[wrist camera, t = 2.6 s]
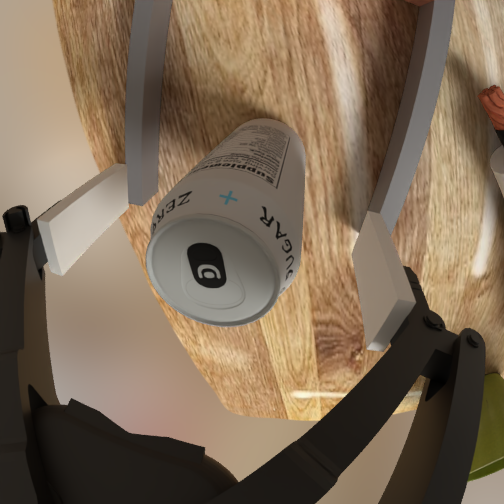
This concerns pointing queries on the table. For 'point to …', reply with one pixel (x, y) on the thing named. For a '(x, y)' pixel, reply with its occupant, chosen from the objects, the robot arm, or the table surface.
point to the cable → (496, 128)
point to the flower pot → (490, 430)
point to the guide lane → (402, 140)
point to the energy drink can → (232, 228)
